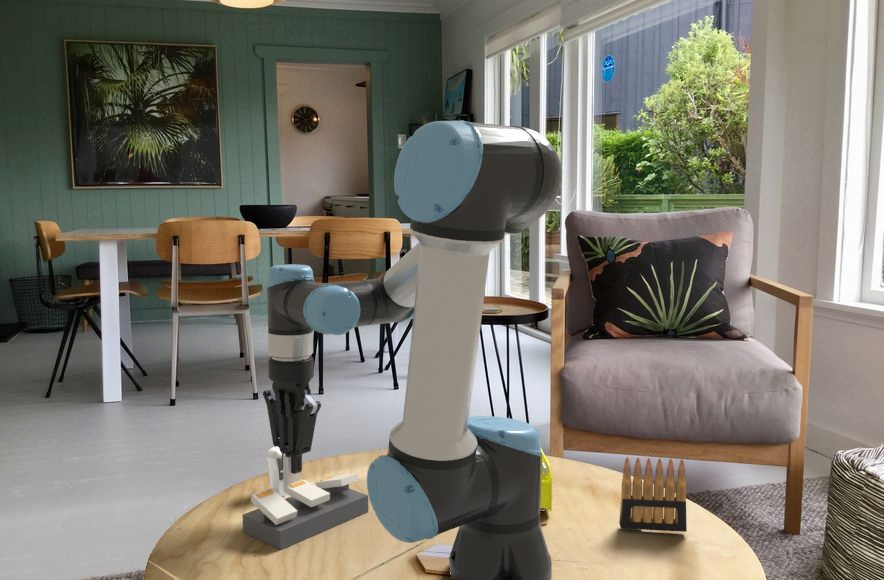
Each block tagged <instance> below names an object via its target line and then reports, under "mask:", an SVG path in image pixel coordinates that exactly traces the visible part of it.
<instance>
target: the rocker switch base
mask: <svg viewBox="0 0 884 580" xmlns="http://www.w3.org/2000/svg"><path fill="white" fill-rule="evenodd" d="M322 489H323V490H325V491H327V492H328V493H330V500H328V501H326V502H323V503H321V504H318V505H316V506H313V507H310V506H308V505H306V504H304V503H303V502H301V501H299V500H297V499H295V498H294V497H292V496H288V497H286V498H284V499H285V500H286V501H287V502H288V503H289V504H291V505H292V506H293V507H294V508H295V509H296V510H297V516H296V517H295V518H292V519H290V520H288V521H285V522H283V523H280V524H278V525H276V524H275V523H274V522H272V521H271V520H270V519H269V518H268V517H267V516H266V515H265V514H264V513H263V512H262V511H261V510H260V509H258V508H257V509H253V510H251V511H249V512H246V513H243V514H242V532H243V533H244V534H247V535H249V536H250V537H253V538H255V539H257V540H259V541H261V542H264V543H265V544H268V545H270V546H272V547H274V548H276V549H278V550H281V551H282V550H284V549H286V548H288V547H291V546H294V545H295V544H296V545H297V544H298V543H299V542H302V541H304V540H307V539H309V538H311V537H314V536H316V535H318V534H321V533H323V532H325V531H327V530H329V529H332V528H335V527H336V526H339V525H341V524H343V523H346V522H348V521H351V520H353V519H355V518H357V517H360V516H362V515H364V514H367V513H369V494H365V493H363V492H359V491H357V490H354V489H351V488H350V484H347V485H344V486H341V487H331V488H322Z"/></svg>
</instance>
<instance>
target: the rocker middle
mask: <svg viewBox="0 0 884 580" xmlns="http://www.w3.org/2000/svg"><path fill="white" fill-rule="evenodd" d="M285 493H286V494H288V495H287V496H289V497H291V496H292V497H294V498H295V499H297V500H299V501H301V502H303V503H304V504H306V505H308V506H310V507H313V506H316V505H318V504H321V503H323V502H326V501H328V500H330V493H328V492H327V491H325V490H323V489H321V488H319V487H317V486H316V484H313V483H311V482H309V481H308V480H305V479H301V480H300V481H298V482H295V483H292V484H289V485H286V486H285Z"/></svg>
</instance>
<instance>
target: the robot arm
mask: <svg viewBox="0 0 884 580" xmlns="http://www.w3.org/2000/svg"><path fill="white" fill-rule="evenodd" d="M562 174H563V171H562V165H561V159H560V158H559V154H558V153H557V150H556V149H555V147H554V146H553V145H552V143H551V142H550V141H549V140H548V139H547V138H546V137H545V136H544V135H542V134H540V133H539V132H538V131H536V130H534V129H531V128H529V127H525V126H518V125H509V126H508V125H501V124H492V123H481V122H471V121H465V120H463V119H461V120H439V121H438V120H437V121H431V122H428V123H425V124H423V125H422V126H420V127H419V128H418V129H416V130H415V131H414V133H413V135H412V136H409V137H408V138H407V140H406V142H405V143H404V145H403V146H402V147H401V150H400V152H399V154H398V157H397V160H396V164H395V169H394V176H393V177H394V178H393V180H394V181H393V183H394V184H393V185H394V186H393V188H394V194H395V196H396V197H398V200H397V204H398V205H399V208H400V210H401V211H402V212H403V214H404V215H406V217H408V218H409V219H410V222H409V231H410V232H411V233H412V235H413V236H414V237H415V239H416V240H417V241H418V243H416V244H415V245H414V246H413V247H412V248H411V249H410V250H409V251H408V252H406V253H405V254H404V256H402V257H401V258H400V259H399V260H398V261H396V262H395V263H394V264H393V265H392V266H391V267H390V268H389V269H387V271H385V272H383V274H381V276H379V277H377V278H375V279H374V278H372V279H361V280H351V281H349V280H348V281H338V282H337V281H336V282H325V283H324V282H316V281H315V278H314V271H313V269H312V268H311V266H309V265H306V264H298V263H297V264H295V263H293V264H276V265H272V266H271V267H270V268H269V269H268V271H267V285H266V289H265V290H266V302H267V303H266V304H267V310H266V311H267V328H268V329H267V330H268V331H267V354H268V356H270V357H269V359H268V360H267V366H268V367H267V371H268V372H267V373H268V375H267V376H268V379H269V380H270V381H271V382H272V384H271V388H269V389H267V390H264V391H263V392H262V395H263V398H264V400H265V404H266V409H267V416H268V421H269V426H270V428H269V429H270V432H271V434H270V435H271V440H272V445H273V447H277V446H278V447H279V449H280V452H281V453H282V469H283V490H284V491H285V486H286V485H289V484H292V483H295V482H298V481H300V480H302V477H301V473H302V470H303V455H304V454H307V453H309V452H311V451H312V444H313V441H314V434H315V427H316V422H317V417H318V413H319V411H320V409H321V408H322V403H321V401H319V400H317V401H315V400H314V399H313V397H312V396H311V395H312V390H311V388H310V381H311V380H312V379H313V378H314V357H313V356H312V354H314V331H315V332H317V333H320V334H324V335H331V336H341V335H344V334H347V333H348V332H350V331H351V330H352V329H354V328H359V327H360V328H361V327H366V326H373V325H382V324H392V323H396V324H397V323H403V322H405V321H408V320H412V325H411V337H410V347H409V355H408V357H409V358H408V364H407V365H408V366H407V375H406V376H407V377H406V385H405V395H404V404H403V405H404V406H403V412H402V413H403V415H402V421H400V422H398V423H397V424H395V425H394V426H393V427H392V428H391V430H390V432H389V437H388V438H389V440H388V447H387V448H388V449H387V454H386V455H383V454H382V455H379V456H377V458H375V459H374V460H373V461H372V462H371V463H370V464H369V466H368V469H367V474H366V487H367V488H366V489H367V493H368V494H367V495H368V499H369V501H370V504H371V507H372V509H373V511H374V513H375V515H376V517H377V520H378V521H379V523H380V524H381V525H382V527H383V528H384V529H385V530H386V531H387V532H388V533H389V535H390V536H392V537H394V538H395V539H396V540H398V541H400V542H402V543H407V544H411V543H412V544H414V543H417V542H420V541H423V540H432V539H434V538H436V537H437V536H438V535H441V534H442V533H445V532H448V531H450V530H451V531H452V530H453V529H456V528H458V530H457V531H456V532H457V533H456V534H455V535H456V536H455V538H454V541H453V545H452V548H451V552H450V554H449V557H448V558H449V560H448V562H449V563H448V568H449V567H450V572H451V577H450V579H451V580H552V577H553V574H552V572H553V571H552V570H553V568H552V566H553V565H552V563H553V562H552V561H553V560H552V556H551V555H550V553H549V548H548V546H547V545H548V544H547V542H546V539H545V536H544V532H543V529H542V526H541V512H540V505H541V459H542V452H541V449H542V439H541V435H540V432H539V431H538V428H536V427H535V426H534V425H532V424H530V423H528V422H525V421H522V420H520V419H519V420H518V419H513V418H509V417H501V416H495V415H494V416H491V415H477V416H475V415H474V416H470V413H471V403H472V395H473V390H474V389H473V388H474V381H475V372H476V366H477V365H476V364H477V356H478V350H479V349H478V348H479V340H480V334H481V333H480V332H481V327H482V326H481V324H482V318H483V317H482V316H483V308H484V300H485V294H486V293H485V292H486V283H487V277H488V270H489V260H490V253H491V251H492V250H494V249H495V248H496V247H497V246H499V245H500V244H501V243H503V242H504V239H505V236H507V235H510V236H515V235H518V234H521V233H523V232H524V231H525V230H526V229H528V228H530V227H531V226H532V225H533V224H534V223H536V222H537V221H538V220H539V219H540V218H541V217H543V215H545V214H546V212H547V211H548V210H550V208H551V207H552V205H554V203H555V201H556V200H557V197H558V195H559V193H560V189H561V187H562V186H561V185H562V176H563V175H562Z"/></svg>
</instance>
